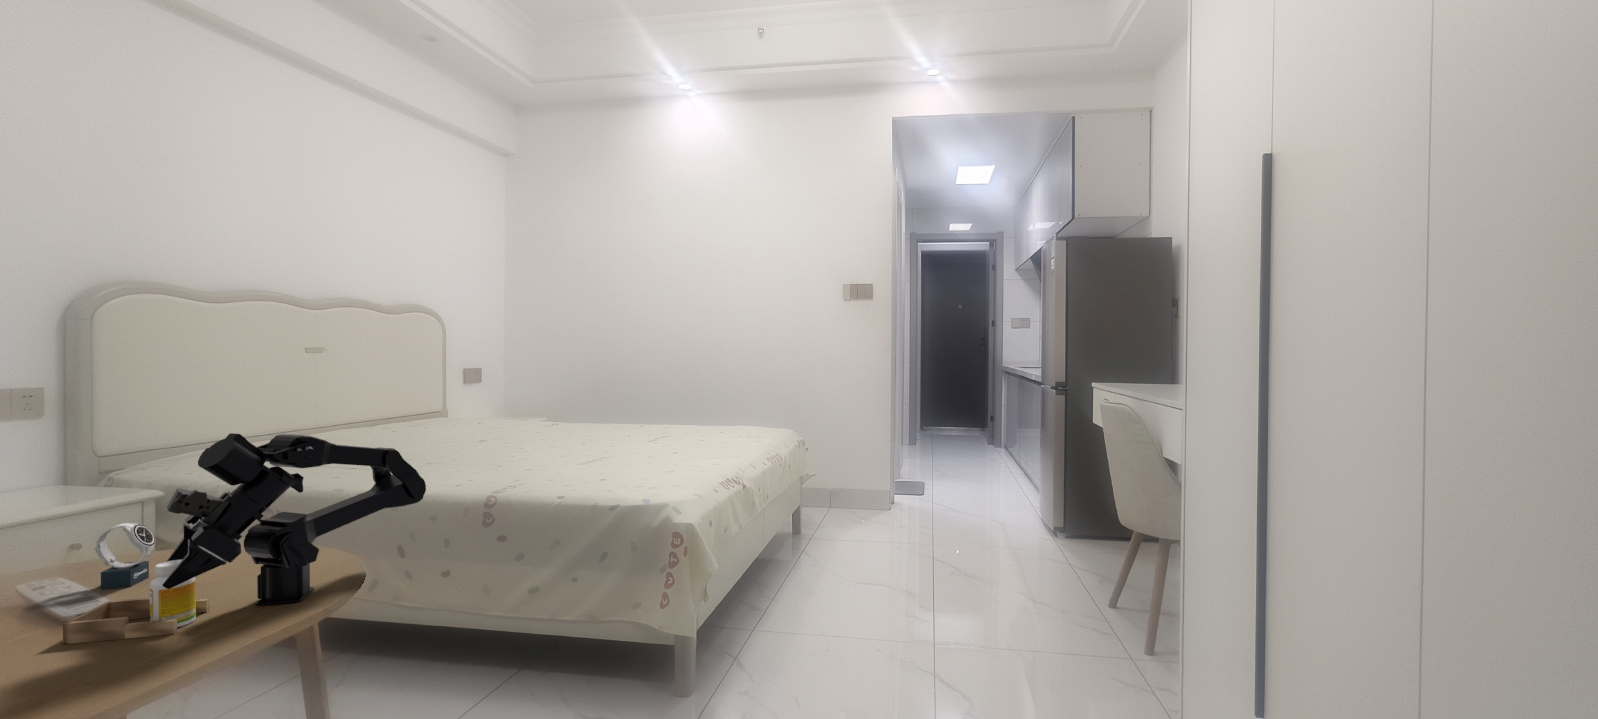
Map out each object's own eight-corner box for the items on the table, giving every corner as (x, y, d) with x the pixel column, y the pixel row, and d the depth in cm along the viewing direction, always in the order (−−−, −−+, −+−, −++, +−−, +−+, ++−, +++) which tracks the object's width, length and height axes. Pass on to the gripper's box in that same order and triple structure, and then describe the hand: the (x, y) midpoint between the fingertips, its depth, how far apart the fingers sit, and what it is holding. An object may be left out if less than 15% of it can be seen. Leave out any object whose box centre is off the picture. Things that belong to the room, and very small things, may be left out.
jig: (209, 610, 113) (209, 592, 113) (174, 633, 104) (173, 614, 104) (108, 619, 110) (108, 600, 109) (63, 644, 100) (62, 624, 100)
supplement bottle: (205, 617, 110) (204, 558, 110) (171, 631, 105) (170, 568, 105) (175, 616, 111) (174, 557, 111) (140, 629, 106) (139, 567, 105)
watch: (144, 585, 125) (143, 526, 125) (88, 590, 123) (87, 529, 122) (161, 575, 130) (161, 518, 130) (108, 580, 128) (108, 522, 128)
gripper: (201, 462, 117) (111, 539, 109) (211, 477, 104) (110, 566, 96) (260, 500, 123) (179, 575, 115) (277, 519, 109) (186, 605, 102)
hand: (163, 579), depth 107 cm, fingers open, 9 cm apart
